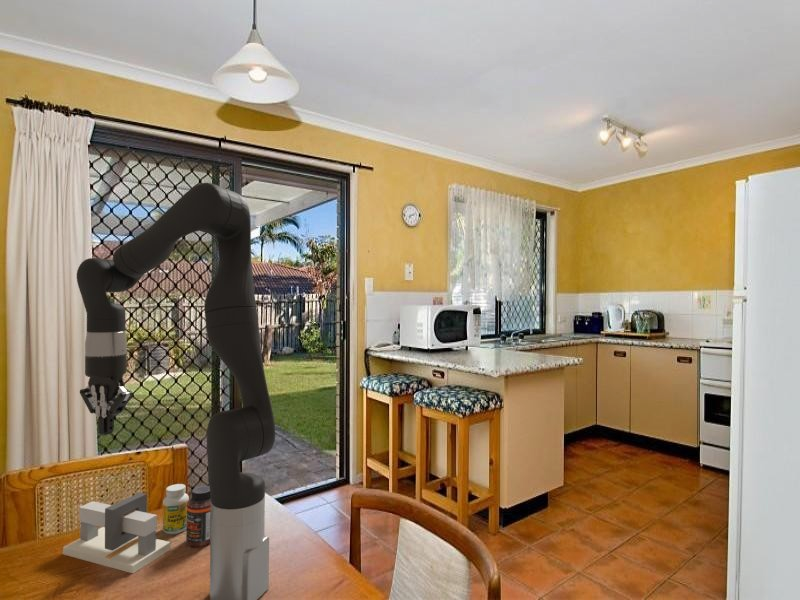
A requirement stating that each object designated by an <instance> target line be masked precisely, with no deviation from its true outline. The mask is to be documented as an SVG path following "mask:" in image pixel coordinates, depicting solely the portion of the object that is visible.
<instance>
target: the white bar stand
mask: <svg viewBox="0 0 800 600" xmlns="http://www.w3.org/2000/svg"><path fill="white" fill-rule="evenodd" d="M112 505H113V504H108V503H104V502H98V501H93V500H92V501H90V502H88V503H86V504H83V505H81V506H79V508H78V510H79V511H78V513H79V515H78V518H79V519H78V521H79V523H80V538H78V539H76V540H75V541H72V542H70V543H68V544H67V545H64V546H63V547H62V554H63V555H64V556H68V557H72V558H75V559H79V560H82V561H85V562H90V563H93V564H97V565H100V566H105V567H107V568H112V569H116V570H120V571H123V572H127V573H130V574H135V573H136V572H138V571H139V570H141V569H143V568H144V567H146V566H147V565H148V564H150V563H152V562H153V561H155V560H156V559H158V558H160V557H161V556H162V555H164V554H166V553H167V552H168V551H170V550H171V541H167V540H164V539H158V538H157V530H158V514H155V513H154V514H153V513H150V512H147V513H145V512H141V511H136V509H134V510H132V511H130V512H128V513H126V514H124V515H122V531H121V532H126V533H131V534H135V535H138V536H137V537H135V538H134V539H132V540H130V541H128V542H127V543H125V544H123V545H121V546H120V547H118V548H116V549H114V550H108V549H105V508H107V507H110V506H112Z"/></svg>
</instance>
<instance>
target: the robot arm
mask: <svg viewBox="0 0 800 600" xmlns="http://www.w3.org/2000/svg"><path fill="white" fill-rule="evenodd" d="M251 228H252V225H251V212H250V207H249V205H248V202H247V200H246V199H245V198H244V197H243V196H242V195H241V194H239V193H237V192H236V191H232V190H230V189H227V188H225V187H222V186H220V185H217V184H214V183H211V182H201V183H198V184H196V185H195V186H193V187H191V188H190V189H189V190H188V191H186V192H185V193H184V194H183V195H181V197H180V198H179V199H177V201H176V202H175V203H174V204H172V206H170V207H169V208H168V209H167V210H166V211H165V212H164V213H163V214H162V215H161V216H160V217H159V218H158V219H157V220H155V222H154V223H153V224H152V225H151V226H148V228H147V229H145V230H144V231H143V232H141V233H140V234H137V236H135V237H133V238H131V239H129V240H128V241H127V242H125V243H124V244H122V245H120V246H119V247H118V248H116V250H115V251H114V253H113V254H112V255H113V256H112V259H107V258H97V257H92V258H91V257H90V258H86V259H85V260H83V261H81V263H80V264H79V266H78V268H77V271H76V282H77V286H78V290H79V293H80V294H81V298H82V302H83V305H84V308H85V312H86V335H85V341H84V375H85V376H86V377H88V378H89V379H88V382H87V384H88V385H87V386H86V387H85V388H82V389H80V390H79V394H80V396H81V398H82V401H83V402H84V404H85V406H86V407H87V409H88V411H89V413H90V414H95V416H96V418H97V431H98V434H99V435H101V436H108V435H111V434H112V433H113V432H114V429H115V416H116V415H118V414H122V412H123V411H124V410H125V408H126V406H127V405H128V403H129V402H130V400H131V399H132V397H133V396H134V393H133V391H132V390H127V389H126V388H125V381H124V377H123V376H124V375H125V374H126V373H127V372H128V370H127V367H128V366H127V365H128V364H127V362H128V360H127V358H128V356H127V355H128V354H127V353H128V346H127V345H128V341H127V340H128V339H127V334H126V324H127V323H126V321H127V320H126V317H127V315H126V314H127V313H126V308H125V307H124V306H123V305H122V304H119V303H115V302H112V301H110V300H109V296H108V294H107V293H122V292H123V293H124V292H126V291H128V290H131V289H132V288H134V286H135V285H136V284H137V283H138V282H139V281H140V280H141V279H142V278H143V276H144V275H145V274H147V273H148V272H150V271H152V270H154V269H156V268H157V267H159V266H160V265H162V264H163V263H164V262H166V261H167V260H168V259H169V258H170V256H171V255H172V253H173V251H174V249H175V245H176V243H177V242H178V241H179V240H180V239H181V238H183V237H185V236H187V235H191V234H194V233H196V232H201V233H205V234H209V235H212V236H215V238H216V242H217V249H218V250H217V251H218V266H217V271H216V274H215V276H214V277H213V280H212V282H211V284H210V285H209V286H210V287H209V288H208V290H207V293H206V296H205V299H204V300H205V301H204V318H205V327H206V335H207V339H208V342H209V345H210V346H211V348H212V350H213V351H214V352H215V353H216V354H217V356H218V357H219V359H220V360H221V361H222V363H223V364H224V365H225V366H226V368H228V370H229V371H230V373H231V374H232V376H233V378H234V379H235V381H236V384H237V386H238V390H239V393H240V397H241V404H242V405H241V406H242V407H237V408H233V409H228V410H223V411H218V412H217V413H216V412H215V414H213V415H212V416H211V417H210V419H209V421H208V424H207V429H206V454H207V455H206V457H207V481H208V486H209V487H210V493H211V519H210V543H209V544H210V545H209V549H210V550H209V600H258V599H259V598H260V597H261V596H263V594H265V593H266V592H267V590H268V589H270V588H269V587H270V537H269V536H267V535H265V532H266V531H265V528H266V527H265V525H266V524H265V523H266V522H265V516H266V515H265V513H266V511H265V509H266V508H265V507H266V505H265V504H266V496H265V495H266V482H265V480H264V479H263V477H262V476H260V475H258V474H254V473H250V472H241V470H240V462H243V461H246V460H250V459H253V458H257V457H260V456H263V455H265V454H268V453H269V452H271V450H272V449H273V447H274V445H275V440H276V424H275V417H274V412H273V407H272V403H271V398H270V394H269V388H268V385H267V380H266V379H267V378H266V375H265V374H266V373H265V369H264V368H265V367H264V362H263V361H264V360H263V353H262V346H261V337H260V324H259V323H260V322H259V316H258V309H257V301H256V297H255V296H256V295H255V286H254V275H253V273H254V272H253V265H252V234H251V232H252V229H251Z"/></svg>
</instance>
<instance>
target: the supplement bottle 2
mask: <svg viewBox="0 0 800 600" xmlns="http://www.w3.org/2000/svg"><path fill="white" fill-rule="evenodd" d="M210 519H211V493H210V487H209V485H201V486H196V487H194V488H193V489H191V498H190V499H189V501H188V503H187V529H186V530H185V531H186V537H185V538H186V539H185V540H186V543H187V545H188V546H190V547H203V546H206V545H209V544H210Z"/></svg>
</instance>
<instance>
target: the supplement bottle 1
mask: <svg viewBox="0 0 800 600" xmlns="http://www.w3.org/2000/svg"><path fill="white" fill-rule="evenodd" d="M186 491H187V490H186V485H185V484H183V483H175V484H172V485H169V486H167V487H166V489H165V497H164V499H163V501H162V531H163V532H164V533H165V534H167V535H176V534H180V533H183V532H184V531H186V530H187V503H188V501H189V500H190V499H189V498H190V497H189V494H187V493H186Z"/></svg>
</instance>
